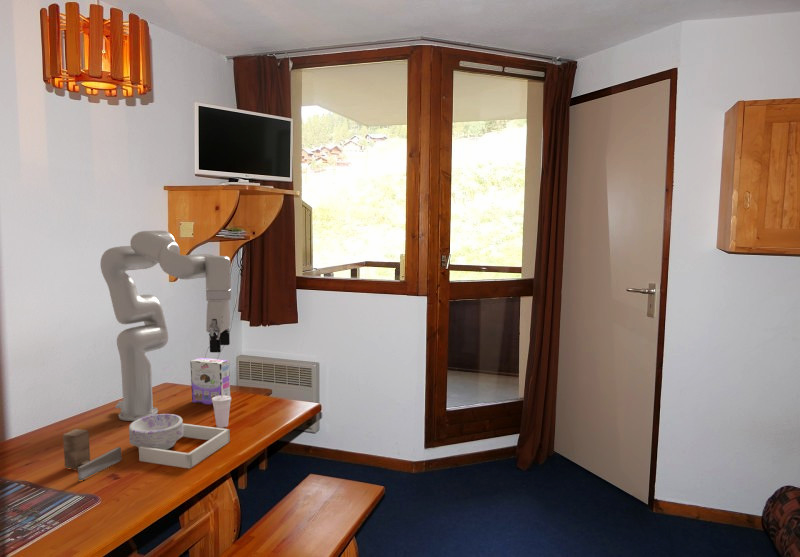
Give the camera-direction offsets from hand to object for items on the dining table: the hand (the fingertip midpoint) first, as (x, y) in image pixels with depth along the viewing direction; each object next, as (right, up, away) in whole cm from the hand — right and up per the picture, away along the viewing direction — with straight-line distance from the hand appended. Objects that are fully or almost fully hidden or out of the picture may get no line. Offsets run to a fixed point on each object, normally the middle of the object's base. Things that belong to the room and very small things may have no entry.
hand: (220, 348), depth 179 cm
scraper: (-31, -31, -21) cm, 48 cm away
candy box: (-15, -25, +36) cm, 46 cm away
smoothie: (-3, -28, +12) cm, 30 cm away
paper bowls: (-17, -30, -6) cm, 35 cm away
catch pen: (-7, -30, -9) cm, 32 cm away
